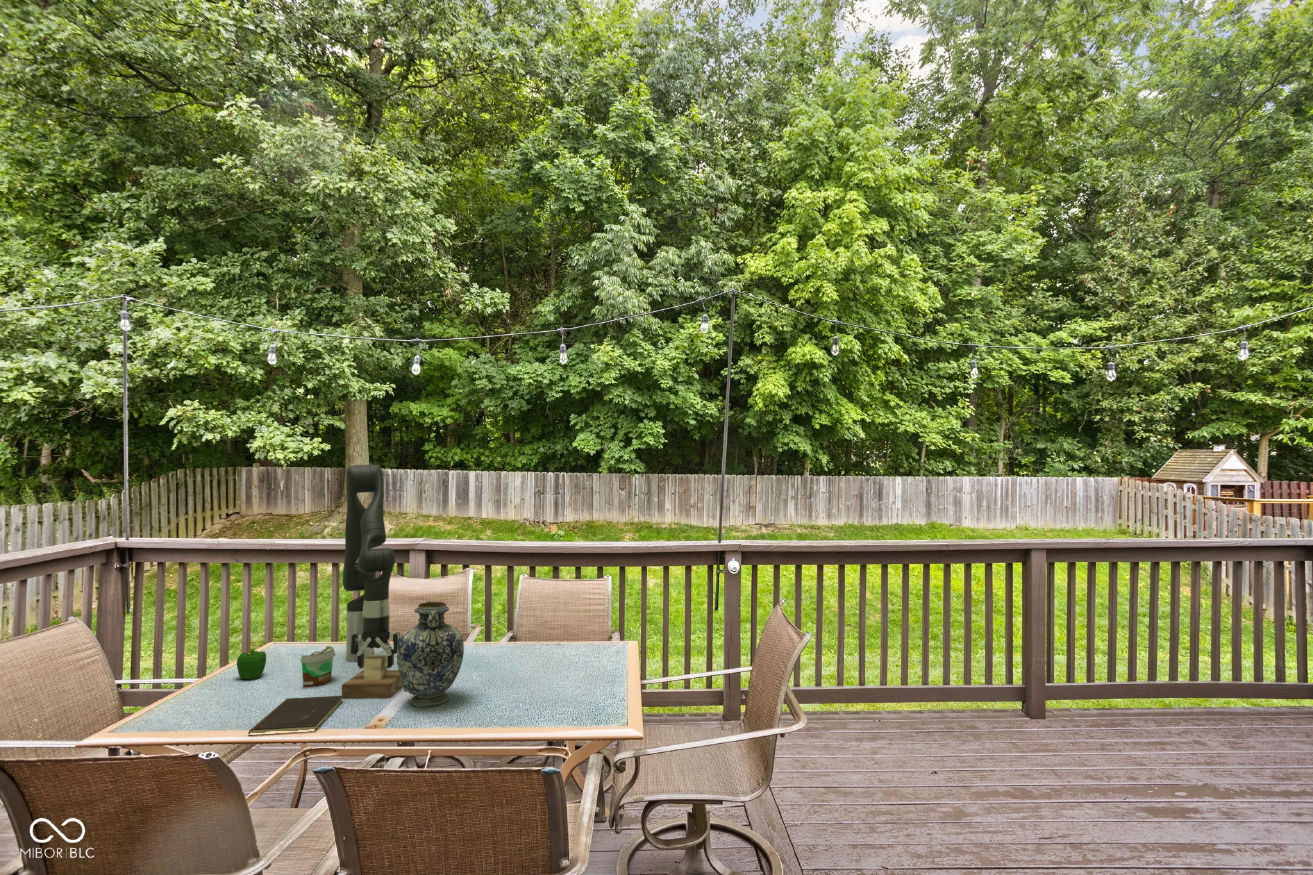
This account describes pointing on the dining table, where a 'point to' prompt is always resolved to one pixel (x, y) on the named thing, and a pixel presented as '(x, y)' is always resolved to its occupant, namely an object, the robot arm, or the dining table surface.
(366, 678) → the maple block
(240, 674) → the bell pepper
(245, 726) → the dining table surface
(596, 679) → the dining table surface
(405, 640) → the decorative vase
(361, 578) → the robot arm
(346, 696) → the block
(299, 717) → the hardcover book
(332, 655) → the half round tub
